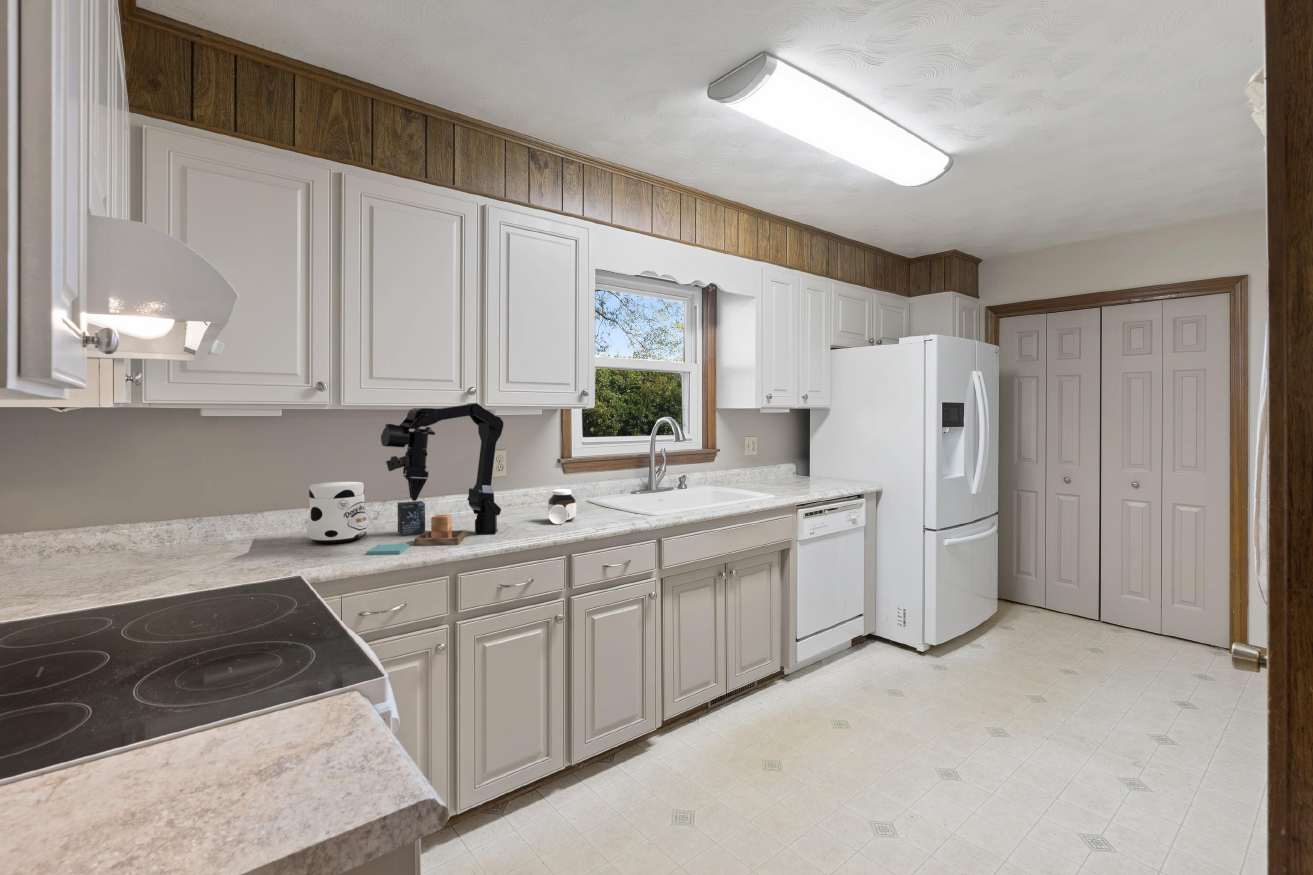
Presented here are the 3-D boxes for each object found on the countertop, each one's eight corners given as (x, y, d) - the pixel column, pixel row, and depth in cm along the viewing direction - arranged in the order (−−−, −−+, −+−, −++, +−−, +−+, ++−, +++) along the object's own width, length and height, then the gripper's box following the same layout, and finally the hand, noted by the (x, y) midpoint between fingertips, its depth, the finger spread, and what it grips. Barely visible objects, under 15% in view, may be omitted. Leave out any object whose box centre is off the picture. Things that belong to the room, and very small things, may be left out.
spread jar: (570, 518, 236) (570, 488, 236) (582, 522, 227) (582, 491, 226) (540, 521, 230) (540, 490, 230) (552, 526, 220) (551, 493, 220)
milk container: (370, 542, 193) (369, 485, 192) (306, 548, 184) (305, 488, 183) (366, 533, 208) (365, 480, 207) (307, 538, 199) (305, 483, 198)
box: (401, 536, 202) (400, 504, 202) (397, 533, 207) (397, 502, 206) (425, 533, 207) (425, 502, 206) (421, 531, 211) (421, 500, 211)
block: (451, 539, 198) (451, 514, 197) (447, 542, 193) (447, 517, 192) (435, 539, 197) (435, 514, 197) (431, 542, 192) (431, 517, 192)
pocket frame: (467, 536, 202) (466, 530, 202) (458, 544, 189) (458, 538, 189) (426, 537, 201) (426, 530, 201) (414, 545, 188) (414, 539, 188)
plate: (409, 547, 186) (409, 543, 186) (399, 554, 177) (399, 550, 177) (378, 547, 185) (378, 544, 185) (367, 554, 176) (367, 551, 176)
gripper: (387, 446, 194) (383, 495, 194) (389, 447, 177) (385, 501, 177) (425, 448, 199) (421, 497, 198) (430, 449, 182) (426, 502, 181)
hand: (412, 499), depth 188 cm, fingers open, 9 cm apart
